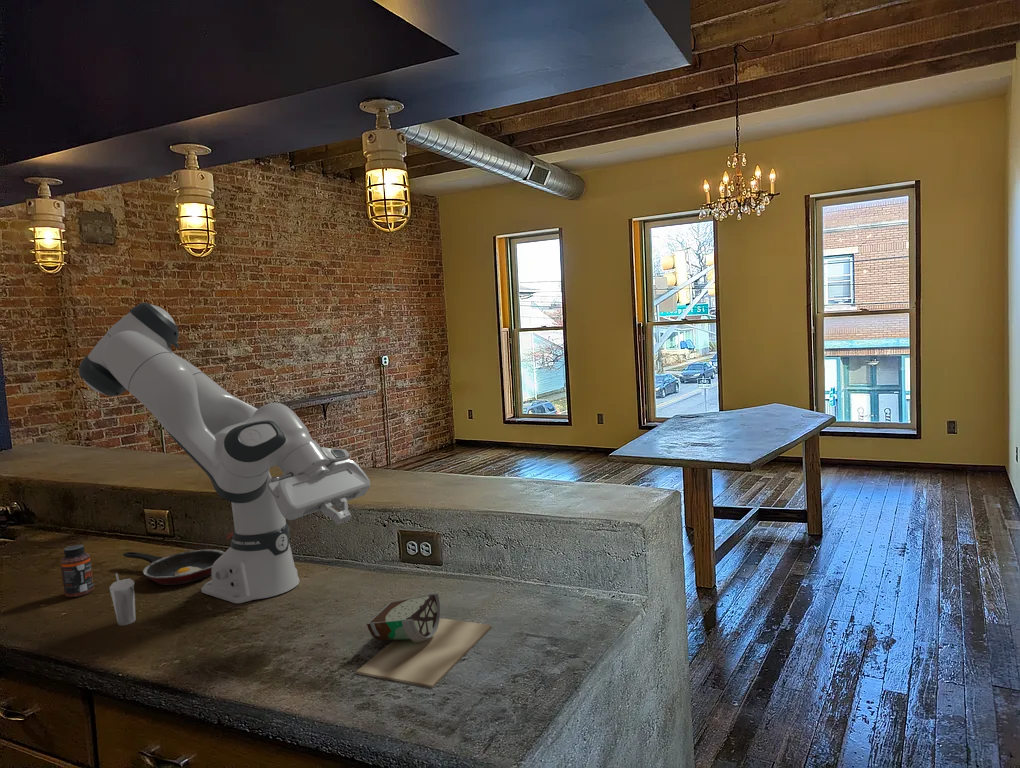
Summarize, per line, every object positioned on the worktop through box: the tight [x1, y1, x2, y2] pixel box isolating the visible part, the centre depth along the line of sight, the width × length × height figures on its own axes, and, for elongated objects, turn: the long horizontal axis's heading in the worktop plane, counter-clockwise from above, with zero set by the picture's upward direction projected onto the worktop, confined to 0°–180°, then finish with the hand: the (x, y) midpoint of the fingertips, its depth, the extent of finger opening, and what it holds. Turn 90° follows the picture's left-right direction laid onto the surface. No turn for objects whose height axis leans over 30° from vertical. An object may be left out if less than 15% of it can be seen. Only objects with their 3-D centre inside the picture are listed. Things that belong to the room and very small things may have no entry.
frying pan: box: [122, 549, 225, 586], centre depth 174 cm, size 19×32×4 cm, turn 65°
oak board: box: [355, 617, 493, 689], centre depth 123 cm, size 15×22×1 cm
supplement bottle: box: [60, 544, 95, 598], centre depth 162 cm, size 6×6×11 cm
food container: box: [366, 592, 441, 643], centre depth 127 cm, size 12×6×10 cm
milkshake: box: [109, 572, 137, 626], centre depth 144 cm, size 4×5×10 cm
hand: (344, 520), depth 134 cm, fingers closed
